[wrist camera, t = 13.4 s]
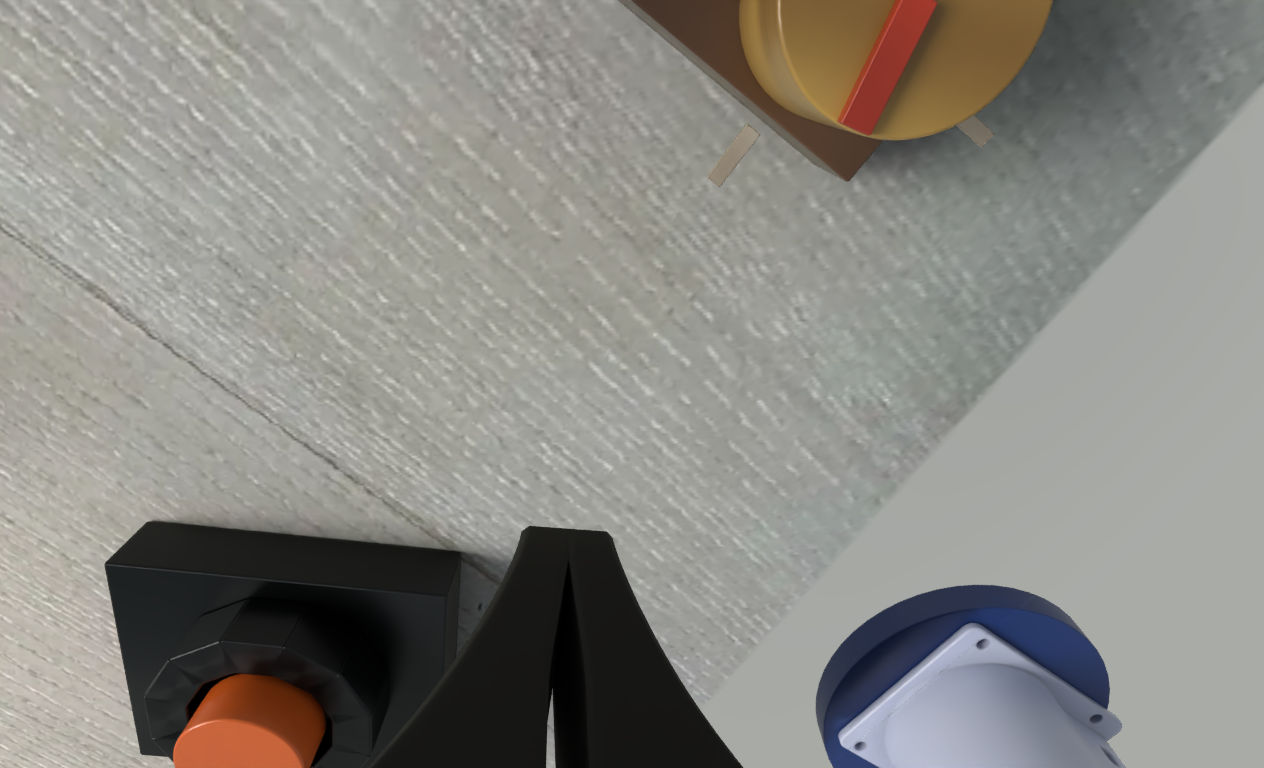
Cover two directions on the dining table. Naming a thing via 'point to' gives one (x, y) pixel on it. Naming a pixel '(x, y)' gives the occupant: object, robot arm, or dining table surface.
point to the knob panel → (757, 87)
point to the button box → (283, 628)
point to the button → (252, 726)
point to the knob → (889, 59)
